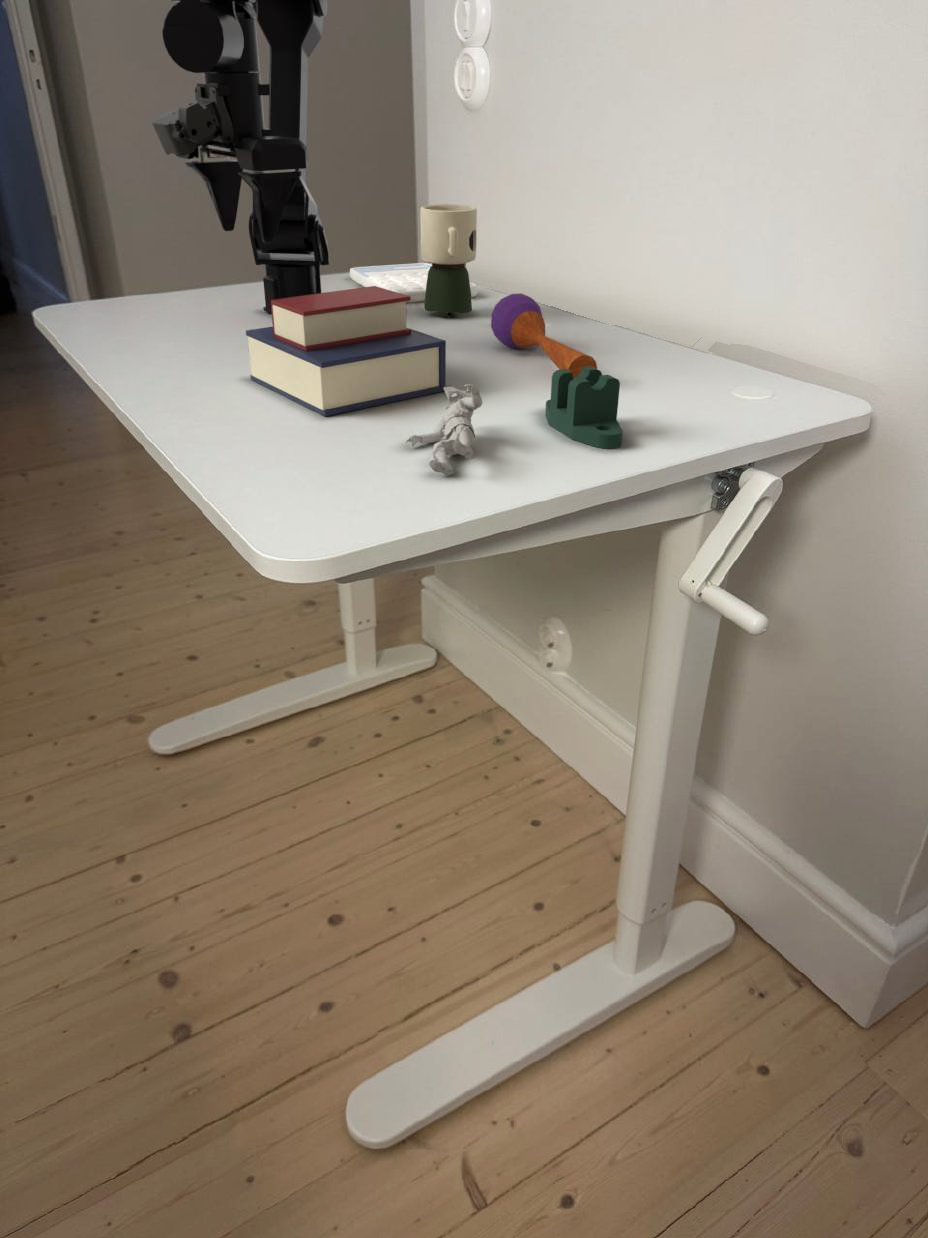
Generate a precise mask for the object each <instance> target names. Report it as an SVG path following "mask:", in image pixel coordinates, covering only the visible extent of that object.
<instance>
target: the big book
mask: <svg viewBox="0 0 928 1238" xmlns="http://www.w3.org/2000/svg"><path fill="white" fill-rule="evenodd" d="M407 328H408V329H411V333H410V334H405V335H399V336H393V337H387V338H381V339H375V340H369V341H364V342H358V343H352V344H346V345H340V346H334V347H328V348H323V349H317V350H311V351H305V350H302V349H300V348H298V347H295V346H293V345H290V344H288V343H286V342H283V341H281V340H278V339H276V338H274V333H273V326H267V327H260V328H254V329H247V330H245V336H246V337H247V343H248V344H247V345H248V353H249V354H248V355H249V363H250V373H251V374H250V380H251V381H253V382H255V383H257V384H259V385H261V386H263V387H265V388H267V389H269V390H271V391H273V392H275V393H277V394H279V395H281V396H283V397H285V398H286V399H289V400H291V401H293V402H295V403H297V404H299V405H301V406H302V407H303V406H304V407H305V408H307V409H309V410H311V411H313V412H315V413H317V414H320V415H321V416H323V417H329V416H333V415H338V414H343V413H349V412H352V411H358V410H362V409H367V408H371V407H376V406H381V405H386V404H391V403H394V402H399V401H404V400H409V399H413V398H418V397H423V396H427V395H432V394H436V393H441V392H445V391H444V387H447V385H446V384H447V383H446V381H447V379H446V378H447V377H446V375H447V374H446V373H447V371H446V369H447V368H446V367H447V366H446V365H447V364H446V363H447V362H446V361H447V360H446V355H447V353H446V352H447V351H446V350H447V348H446V346H447V345H446V344H447V340H445V339H443V338H439V337H436V336H433V335H430V334H427V333H424V332H421V331H418V330H415V329H413V328H409V327H407Z"/></svg>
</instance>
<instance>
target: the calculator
mask: <svg viewBox="0 0 928 1238" xmlns="http://www.w3.org/2000/svg"><path fill="white" fill-rule="evenodd" d="M431 266H432V263H428V262H417V263H416V262H415V263H402V264H399V263H398V264H385V265H384V264H383V265H370V266H367V265H366V266H354V267H351V268H350V269H349V276H350V279H351V280H352V281H354V282H356V283H357V284H359V285H361V287H371V286H377V287H380V288H383V289H387V290H390V291H394V292H397V293H400V294H404V295H407V296H410V297H411V300H410V301H406V303H417V302H425V293H426V285H427V277H428V271H429V269H430V267H431ZM469 282H470V290H471V298H474V297H476V296H477V294H478V291H479V290H478V286H477V284H475V283H474V282H471V281H469Z"/></svg>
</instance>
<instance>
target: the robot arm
mask: <svg viewBox="0 0 928 1238" xmlns="http://www.w3.org/2000/svg"><path fill="white" fill-rule="evenodd" d="M170 1H171V2H176V3H174V5H172V6H171V7H170V9H169V10H168V11H167V13H166V16H165V18H164V20H163V28H162V31H161V33H162V40H163V44H164V48H165V49H166V52H167V53H168V55H169V57H170V59H172V61H173V62H174V63H175V64H176V65H177V66H178V67H180V68H181V69H183V70H185V71H186V72H190V73H193V74H194V73H195V74H202V76H203V82H197V83H196V86H195V87H194V96H195V97H194V98H195V100H194V101H190V102H189V103H187V104H184V105H182V106H180V107H177V108H176V109H173V110H171V111H169V112H167V113H165V114H162V115H161V116H159V117H156V118H155V119H153V120H152V121H151V125H152V127H153V129H154V131H155V134H156V136H157V138H158V140H159V142H160V145H161V147H162V149H163V151H164V153H165V155H167V156H169V155H171V154H172V155H175V156H176V157H178V158H180V159H185V160H187V161H184V164H185V165H186V167H187V168H190V169H191V170H192V171H193V172H195V174H197V175H198V176H199V177H200V178H201V179H202V180H203V182H204V184H205V187H206V190H207V191H208V194H209V196H210V199H211V202H212V205H213V207H214V209H215V212H216V214H217V217H218V219H219V222H220V224H221V228H222V230H223V231H224V232H232V231H234V229H235V227H236V221H237V216H238V215H237V214H238V208H239V201H240V193H241V186H242V181H244V182H245V184H247V185H248V187H249V188H250V190H251V192H252V193H251V194H252V213H250V214H249V218H248V234H249V239H250V243H251V248H252V253H253V258H254V264H255V266H261V265H264V268H265V275H264V276H263V278H262V282H263V293H264V302H265V303H264V304H265V306H262V308H263V309H262V311H264V312H266V313H268V314H271V315H272V310H271V300H274V299H282V298H289V297H297V296H304V295H311V294H319V293H322V280H321V267H323V266H329V265H330V264H331V258H330V247H329V242H328V239H327V235H326V231H325V227H324V226H323V223H322V220H321V217H320V215H319V214H318V213H319V212H318V211H319V209H318V205H317V203H316V200H315V199H314V197H313V195H312V193H311V191H310V189H309V188H308V186H307V183H306V172H307V171H306V170H307V169H308V168H309V160H308V159H309V158H308V147H307V126H308V124H307V123H308V122H307V121H308V88H309V87H308V84H309V82H308V81H309V76H308V75H309V58H310V57H311V55H312V53H313V52H314V50H315V49H316V48H317V46H318V44H319V42H320V41H321V39H322V37H323V28H324V27H323V26H324V17H327V14H328V6H329V5H328V0H170ZM257 24H258V26H259V28H260V30H261V32H262V33H263V36H264V37H265V40H266V42H267V44H268V45H269V71H268V73H269V74H268V75H269V79H268V83H262V77H261V76H262V75H261V67H260V66H261V64H260V54H259V42H258V29H257ZM263 96H268V128H266V125H265V124H266V122H265V112H264V99H263ZM231 158H232V159H231ZM233 158H235V159H233ZM188 160H189V161H188ZM244 170H246V171H244ZM312 253H313V254H312Z"/></svg>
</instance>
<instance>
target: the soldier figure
mask: <svg viewBox="0 0 928 1238" xmlns="http://www.w3.org/2000/svg"><path fill="white" fill-rule="evenodd" d="M463 387H466V390H462V389H458V388H456V387H455V386H446V387H444V391H443V392H444V393H445V395H446V397H447V400H448V402H449V403H450V404H449V405H447V406H446V407H445V411H444V412H443V413H442V415H441V417H440V420H439V422H438V425H436V428H435V430H434V431H433V432H430V433H427V434H426V433H425V434H420V435H416V434H412V435H410V436H408V438H407V439H406V440H405V444H407V443H411V447H414V446H415V445H416V444H417V443H419V444H432V443H434V444H433V447H432V457H433V459H432V460H430V461H429V464H428V465H429V467H430V468H431V469H432V470H433V471H434V472H436V473H441V474H444V476H448V477H449V476H453V474H454V469H453V467H452V465H451V463H450V460H449V457H450V456H456V455H461V456H463V457H464V458H465V459H466V460H467V459H468V460H472V459H474V457H475V453H474V451H473V449H472V444H473V443H474V440H475V438H476V434H475V429H474V427H473V424H472V417H473V414H474V412H475V411H476V410H477V409H479V408H481V407H482V405H483V398H482V395H481V393H480V389H478V388H477V386H476V385H475V384H470V383H467V384H464V385H463ZM443 438H445V439H443Z"/></svg>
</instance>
